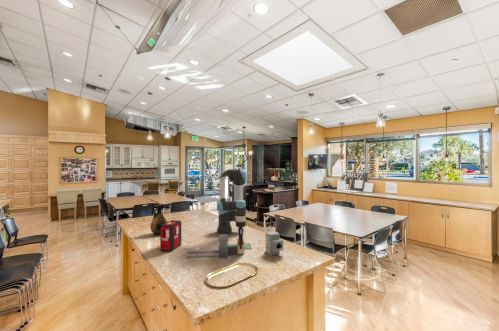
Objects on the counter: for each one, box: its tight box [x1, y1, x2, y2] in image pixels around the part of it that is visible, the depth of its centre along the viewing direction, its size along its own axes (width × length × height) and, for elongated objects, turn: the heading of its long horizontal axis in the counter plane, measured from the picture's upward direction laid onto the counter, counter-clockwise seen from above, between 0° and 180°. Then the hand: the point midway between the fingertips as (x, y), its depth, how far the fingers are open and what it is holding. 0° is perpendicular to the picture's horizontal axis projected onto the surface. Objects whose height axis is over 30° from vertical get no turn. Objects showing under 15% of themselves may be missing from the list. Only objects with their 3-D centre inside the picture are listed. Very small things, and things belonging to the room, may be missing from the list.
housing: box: [185, 234, 229, 259], centre depth 170 cm, size 15×30×12 cm, turn 96°
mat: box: [228, 242, 253, 250], centre depth 186 cm, size 12×20×1 cm, turn 96°
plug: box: [228, 238, 246, 255], centre depth 172 cm, size 5×20×10 cm, turn 95°
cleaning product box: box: [159, 220, 182, 253], centre depth 183 cm, size 16×9×20 cm, turn 170°
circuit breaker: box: [264, 230, 284, 256], centre depth 171 cm, size 8×14×15 cm, turn 27°
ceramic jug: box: [149, 202, 168, 236], centre depth 219 cm, size 17×15×30 cm
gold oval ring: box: [204, 262, 259, 289], centre depth 138 cm, size 19×35×2 cm, turn 133°
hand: (240, 251), depth 172 cm, fingers closed on plug, 5 cm apart
